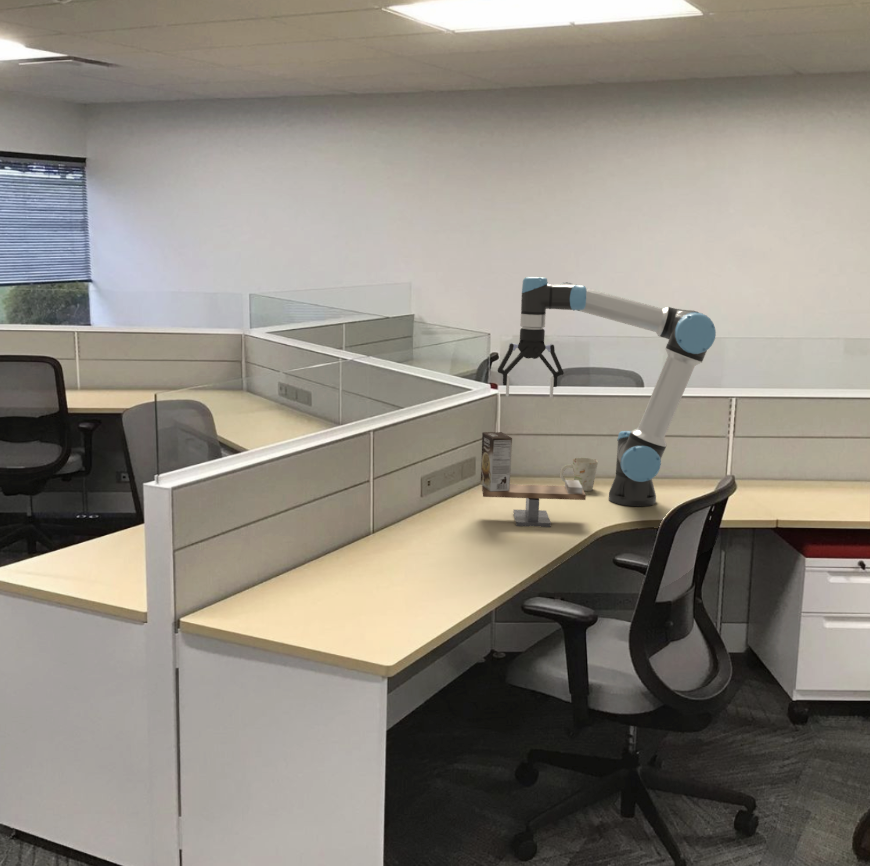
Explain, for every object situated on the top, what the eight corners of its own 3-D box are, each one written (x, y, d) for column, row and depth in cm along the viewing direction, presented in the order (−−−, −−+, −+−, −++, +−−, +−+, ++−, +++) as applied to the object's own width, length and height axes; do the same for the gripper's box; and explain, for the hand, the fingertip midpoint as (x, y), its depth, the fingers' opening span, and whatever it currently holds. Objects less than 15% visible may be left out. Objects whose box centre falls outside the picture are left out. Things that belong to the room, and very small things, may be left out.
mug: (597, 492, 337) (599, 463, 335) (560, 491, 337) (561, 462, 335) (594, 486, 345) (596, 458, 343) (557, 485, 345) (559, 456, 343)
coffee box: (479, 484, 302) (481, 431, 299) (499, 483, 304) (501, 431, 301) (489, 491, 294) (492, 437, 291) (510, 490, 296) (512, 437, 293)
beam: (580, 491, 304) (581, 480, 303) (585, 500, 294) (586, 488, 293) (481, 488, 304) (482, 476, 303) (483, 496, 294) (483, 484, 294)
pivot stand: (545, 514, 307) (547, 490, 306) (550, 527, 294) (551, 502, 292) (513, 513, 307) (514, 489, 306) (516, 526, 294) (517, 500, 292)
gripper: (571, 328, 310) (568, 396, 314) (491, 325, 310) (488, 393, 314) (574, 330, 303) (570, 399, 307) (492, 327, 303) (489, 397, 307)
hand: (529, 396), depth 311 cm, fingers open, 13 cm apart
